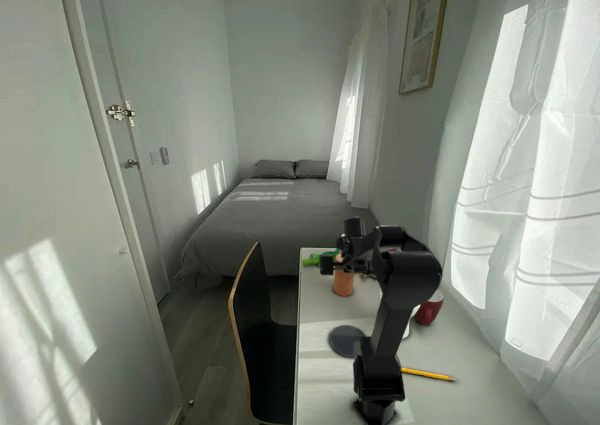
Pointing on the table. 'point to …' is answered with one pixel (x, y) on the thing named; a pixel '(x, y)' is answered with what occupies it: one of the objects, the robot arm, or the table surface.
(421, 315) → the mug
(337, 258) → the copper pot
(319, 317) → the table surface
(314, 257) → the toy
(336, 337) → the charcoal plate
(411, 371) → the pencil
